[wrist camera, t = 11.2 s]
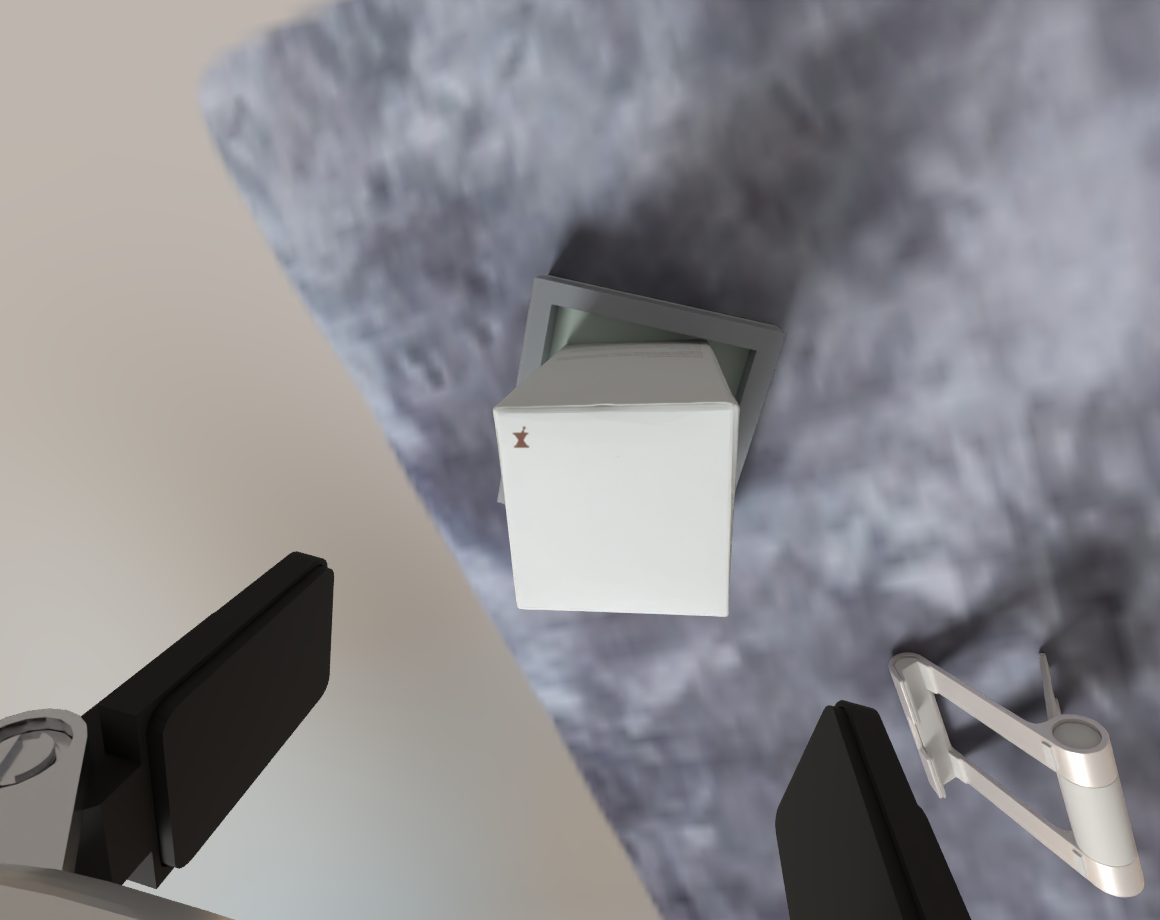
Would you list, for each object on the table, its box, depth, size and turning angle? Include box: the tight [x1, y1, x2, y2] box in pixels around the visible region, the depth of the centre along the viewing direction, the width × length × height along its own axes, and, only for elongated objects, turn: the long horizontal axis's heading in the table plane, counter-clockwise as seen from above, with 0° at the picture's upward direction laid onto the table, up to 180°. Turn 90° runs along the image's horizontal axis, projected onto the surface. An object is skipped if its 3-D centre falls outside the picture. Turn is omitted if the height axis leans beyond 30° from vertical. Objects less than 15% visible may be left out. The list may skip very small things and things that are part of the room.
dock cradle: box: [497, 275, 787, 504], centre depth 29 cm, size 12×12×3 cm
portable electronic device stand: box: [888, 652, 1144, 897], centre depth 29 cm, size 9×8×8 cm
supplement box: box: [493, 340, 740, 617], centre depth 24 cm, size 7×7×13 cm
